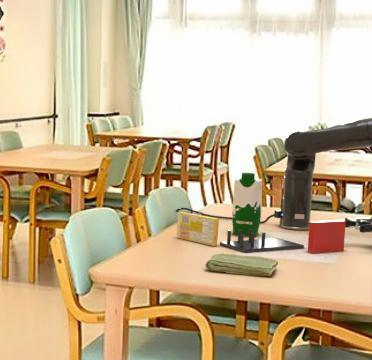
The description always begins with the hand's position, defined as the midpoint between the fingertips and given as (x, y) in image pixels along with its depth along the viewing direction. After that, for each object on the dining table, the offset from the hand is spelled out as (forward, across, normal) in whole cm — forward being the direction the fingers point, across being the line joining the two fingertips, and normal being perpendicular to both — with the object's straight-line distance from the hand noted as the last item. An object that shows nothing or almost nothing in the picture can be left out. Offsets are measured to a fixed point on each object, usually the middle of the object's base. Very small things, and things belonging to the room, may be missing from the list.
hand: (349, 226), depth 276 cm
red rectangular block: (+9, 0, +7) cm, 11 cm away
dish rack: (+23, -12, +7) cm, 27 cm away
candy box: (+37, -25, +7) cm, 45 cm away
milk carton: (+14, -31, +7) cm, 35 cm away
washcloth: (+50, +13, +7) cm, 52 cm away
